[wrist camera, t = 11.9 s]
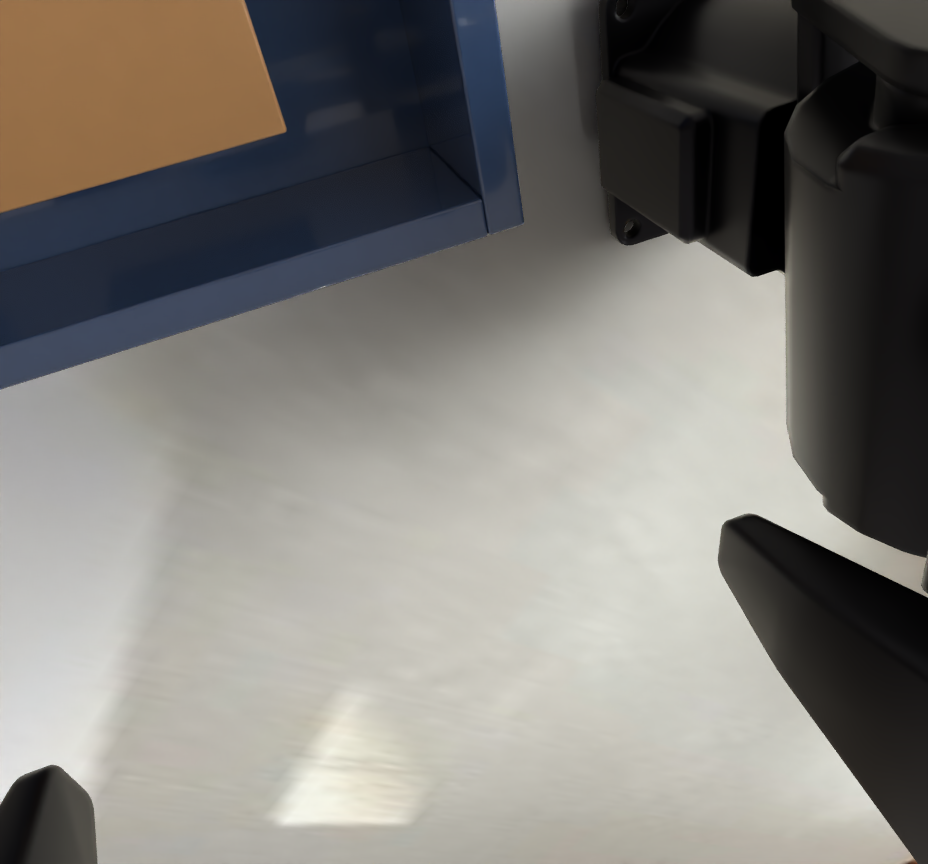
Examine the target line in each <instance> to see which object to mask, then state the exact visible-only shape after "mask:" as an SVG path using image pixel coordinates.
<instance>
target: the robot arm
mask: <svg viewBox="0 0 928 864" xmlns="http://www.w3.org/2000/svg"><path fill="white" fill-rule="evenodd" d="M617 1H618V0H599V29H600V48H601V68H602V81H601V83H600V85H599V87H598V89H597V91H596V106H597V123H598V140H599V158H600V175H601V186H602V187H603V188H604V189H605V190H607V191H608V203H609V223H610V231H611V235H612V236H613V237H614V238H615V239H616V240H617V241H619V242H620V243H621V244H624V245H627V246H628V245H634V244H637V243H640V242H643V241H646V240H649V239H652V238H656V237H659V236H662V235H665V234H668V233H670V234H672V235H673V236H675V237H676V238H678V239H679V240H680V241H682V242H683V243H686V244H689V243H692V242H695V241H698V242H700V243H701V244H703V245H704V246H706V247H707V248H709V249H710V250H712V251H713V252H715V253H716V254H718V255H719V256H721V257H723V258H724V259H726V260H727V261H729V262H730V263H732V264H733V265H735V266H736V267H738V268H739V269H741V270H742V271H744V272H745V273H747V274H749V275H750V276H752V277H754V276H760V275H763V274H766V273H769V272H772V271H775V270H777V271H779V272H780V273H782V274H784V275H785V313H786V424H787V429H788V434H789V439H790V444H791V449H792V454H793V457H794V459H795V460H796V461H797V463H798V464H799V466H800V467H801V468H802V470H803V471H804V473H805V474H806V475H807V477H808V478H809V480H810V481H811V482H812V484H813V485H814V487H815V488H816V489H817V491H819V492H820V493H821V494H822V495H823V505H824V507H825V508H826V509H827V511H828V512H830V513H831V514H833V515H834V516H836V517H837V518H839V519H840V520H842V521H843V522H844V523H846V524H847V525H849V526H850V527H852V528H853V529H855V530H856V531H858V532H860V533H862V534H864V535H866V536H868V537H871V538H873V539H875V540H878V541H880V542H882V543H885V544H887V545H889V546H892V547H894V548H896V549H898V550H901V551H903V552H907V553H910V554H913V555H917V556H921V557H925V558H926V563H925V568H924V573H923V578H922V583H921V586H922V588H923V590H924V591H925V592H926V593H927V594H928V0H628V3H627V8H626V10H625V12H624V13H623V14H622V15H620V16H618V15H617V12H616V5H617ZM631 220H634V223H633V226H632V228H631V229H630V230H629V231H627V232H624V230H625V226H626V225H627V223H628V222H629V221H631ZM718 564H719V568H720V571H721V573H722V576H723V577H724V579H725V581H726V583H727V584H728V586H729V588H730V590H731V591H732V593H733V595H734V596H735V598H736V600H737V602H738V603H739V605H740V607H741V609H742V610H743V612H744V614H745V616H746V617H747V619H748V621H749V622H750V624H751V626H752V628H753V629H754V631H755V633H756V635H757V636H758V638H759V640H760V642H761V643H762V645H763V647H764V648H765V650H766V652H767V654H768V655H769V657H770V659H771V660H772V662H773V663H774V665H775V667H776V668H777V670H778V671H779V673H780V674H781V676H782V677H783V679H784V680H785V681H786V683H787V684H788V686H789V687H790V688H791V690H792V691H793V693H794V694H795V695H796V697H797V698H798V699H799V701H800V702H801V704H802V705H803V706H804V708H805V709H806V710H807V712H808V713H809V715H810V716H811V717H812V719H813V720H814V721H815V723H816V724H817V726H818V727H819V728H820V730H821V731H822V732H823V734H824V735H825V737H826V738H827V739H828V741H829V742H830V743H831V745H832V746H833V748H834V749H835V750H836V752H837V753H838V754H839V756H840V757H841V759H842V760H843V761H844V763H845V764H846V765H847V767H848V768H849V770H850V771H851V772H852V774H853V775H854V776H855V778H856V779H857V780H858V782H859V783H860V785H861V786H862V787H863V789H864V790H865V791H866V793H867V794H868V796H869V797H870V798H871V800H872V801H873V802H874V804H875V805H876V807H877V808H878V809H879V811H880V812H881V813H882V815H883V816H884V818H885V819H886V820H887V822H888V823H889V824H890V826H891V827H892V829H893V830H894V831H895V833H896V834H897V835H898V837H899V838H900V840H901V841H902V842H903V844H904V845H905V846H906V848H907V849H908V851H909V852H910V853H911V855H912V856H913V857H914V859H915V860H916V862H917V863H918V864H928V598H927V597H925V596H923V595H921V594H919V593H917V592H915V591H913V590H911V589H909V588H907V587H905V586H903V585H901V584H898V583H896V582H894V581H892V580H890V579H888V578H886V577H884V576H882V575H880V574H878V573H876V572H874V571H872V570H870V569H868V568H865V567H863V566H861V565H859V564H857V563H855V562H853V561H851V560H849V559H847V558H845V557H843V556H841V555H839V554H837V553H834V552H832V551H830V550H828V549H826V548H824V547H822V546H820V545H818V544H816V543H814V542H812V541H810V540H808V539H806V538H804V537H801V536H799V535H797V534H795V533H793V532H791V531H789V530H787V529H785V528H783V527H781V526H779V525H777V524H775V523H773V522H771V521H768V520H766V519H764V518H762V517H760V516H758V515H755V514H744V515H741V516H738V517H736V518H733V519H730V520H727V521H726V522H725V523H724V524H723V525H722V529H721V537H720V546H719V554H718ZM0 864H98V863H97V848H96V834H95V819H94V808H93V804H92V801H91V798H90V796H89V794H88V793H87V792H86V791H85V790H84V789H83V788H82V787H81V786H80V785H79V784H78V783H77V782H76V781H75V780H74V779H72V778H71V777H70V776H69V775H68V774H67V773H66V772H65V771H64V770H63V769H62V768H60V767H59V766H56V765H49V766H46V767H44V768H41V769H38V770H35V771H32V772H30V773H27V774H24V775H23V776H21V777H19V778H18V779H17V780H16V781H15V782H14V783H13V785H12V786H11V788H10V789H9V791H8V793H7V794H6V796H5V798H4V799H3V801H2V803H1V804H0Z"/></svg>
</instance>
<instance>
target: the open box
mask: <svg viewBox="0 0 928 864" xmlns="http://www.w3.org/2000/svg"><path fill="white" fill-rule="evenodd" d="M245 3H246V6H247V9H248V12H249V15H250V19H251V22H252V25H253V28H254V31H255V34H256V37H257V40H258V43H259V46H260V49H261V52H262V55H263V58H264V61H265V64H266V67H267V70H268V73H269V76H270V80H271V83H272V86H273V89H274V92H275V95H276V98H277V101H278V104H279V107H280V110H281V113H282V116H283V119H284V122H285V125H286V128H287V129H286V132H285V133H282V134H279V135H275V136H272V137H268V138H265V139H261V140H257V141H254V142H250V143H247V144H243V145H240V146H236V147H233V148H229V149H226V150H222V151H219V152H215V153H212V154H208V155H205V156H201V157H197V158H194V159H190V160H187V161H183V162H180V163H176V164H173V165H169V166H166V167H162V168H159V169H155V170H152V171H148V172H145V173H141V174H137V175H134V176H130V177H127V178H123V179H120V180H116V181H113V182H109V183H106V184H102V185H99V186H95V187H92V188H88V189H84V190H81V191H77V192H74V193H70V194H67V195H63V196H60V197H56V198H53V199H49V200H46V201H42V202H39V203H35V204H32V205H28V206H24V207H21V208H17V209H14V210H10V211H7V212H3V213H0V390H1V389H4V388H7V387H10V386H13V385H16V384H20V383H23V382H26V381H29V380H32V379H36V378H39V377H42V376H45V375H48V374H51V373H55V372H58V371H61V370H64V369H67V368H70V367H74V366H77V365H80V364H83V363H86V362H89V361H93V360H96V359H99V358H102V357H105V356H109V355H112V354H115V353H118V352H121V351H124V350H128V349H131V348H134V347H137V346H140V345H143V344H147V343H150V342H153V341H156V340H159V339H163V338H166V337H169V336H172V335H175V334H178V333H182V332H185V331H188V330H191V329H194V328H197V327H201V326H204V325H207V324H210V323H213V322H217V321H220V320H223V319H226V318H229V317H232V316H236V315H239V314H242V313H245V312H248V311H251V310H255V309H258V308H261V307H264V306H267V305H271V304H274V303H277V302H280V301H283V300H286V299H290V298H293V297H296V296H299V295H302V294H305V293H309V292H312V291H315V290H318V289H321V288H325V287H328V286H331V285H334V284H337V283H340V282H344V281H347V280H350V279H353V278H356V277H359V276H363V275H366V274H369V273H372V272H375V271H379V270H382V269H385V268H388V267H391V266H394V265H398V264H401V263H404V262H407V261H410V260H413V259H417V258H420V257H423V256H426V255H429V254H433V253H436V252H439V251H442V250H445V249H448V248H452V247H455V246H458V245H461V244H464V243H467V242H471V241H474V240H477V239H480V238H483V237H486V236H487V235H488V234H490V235H492V234H495V233H499V232H502V231H505V230H508V229H511V228H514V227H518V226H521V225H523V224H524V216H523V208H522V201H521V193H520V186H519V178H518V171H517V163H516V155H515V148H514V140H513V133H512V125H511V118H510V110H509V103H508V95H507V87H506V80H505V72H504V65H503V57H502V50H501V42H500V34H499V27H498V19H497V12H496V4H495V0H245Z"/></svg>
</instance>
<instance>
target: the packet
mask: <svg viewBox="0 0 928 864" xmlns="http://www.w3.org/2000/svg"><path fill="white" fill-rule="evenodd" d="M286 129H287V128H286V125H285V122H284V119H283V116H282V113H281V110H280V107H279V104H278V101H277V98H276V95H275V92H274V89H273V86H272V83H271V80H270V76H269V73H268V70H267V67H266V64H265V61H264V58H263V55H262V52H261V49H260V46H259V43H258V40H257V37H256V34H255V31H254V28H253V25H252V22H251V19H250V15H249V12H248V9H247V6H246V3H245V0H0V213H3V212H7V211H10V210H14V209H17V208H21V207H24V206H28V205H32V204H35V203H39V202H42V201H46V200H49V199H53V198H56V197H60V196H63V195H67V194H70V193H74V192H77V191H81V190H84V189H88V188H92V187H95V186H99V185H102V184H106V183H109V182H113V181H116V180H120V179H123V178H127V177H130V176H134V175H137V174H141V173H145V172H148V171H152V170H155V169H159V168H162V167H166V166H169V165H173V164H176V163H180V162H183V161H187V160H190V159H194V158H197V157H201V156H205V155H208V154H212V153H215V152H219V151H222V150H226V149H229V148H233V147H236V146H240V145H243V144H247V143H250V142H254V141H257V140H261V139H265V138H268V137H272V136H275V135H279V134H282V133H285V132H286Z"/></svg>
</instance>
